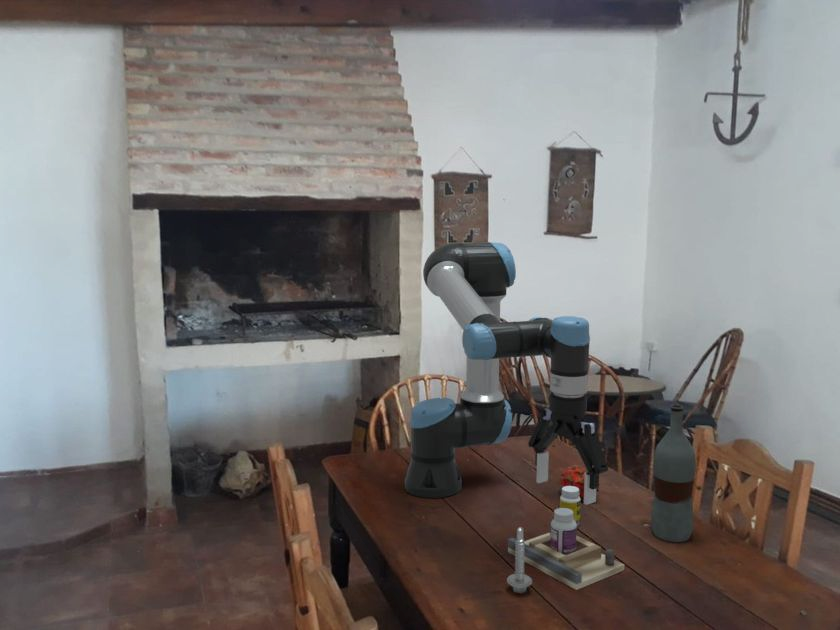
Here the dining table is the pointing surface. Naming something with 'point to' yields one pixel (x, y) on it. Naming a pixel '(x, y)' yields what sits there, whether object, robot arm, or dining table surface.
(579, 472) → the dragon fruit
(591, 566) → the jig
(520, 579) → the screw
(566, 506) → the supplement bottle
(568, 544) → the pill bottle
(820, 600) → the dining table surface
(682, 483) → the vodka
